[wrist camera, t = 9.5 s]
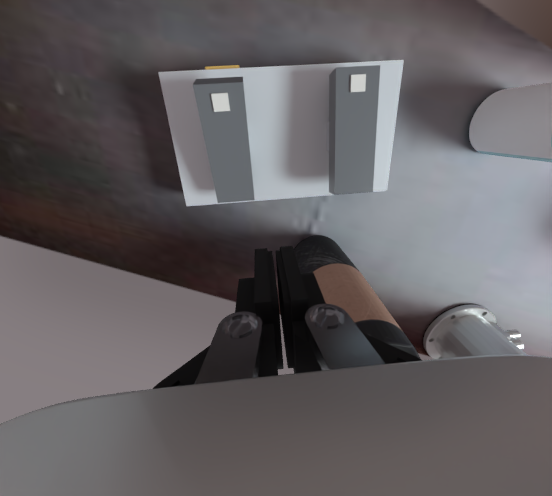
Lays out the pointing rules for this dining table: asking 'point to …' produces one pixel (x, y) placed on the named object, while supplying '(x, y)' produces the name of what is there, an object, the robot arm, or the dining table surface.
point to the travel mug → (349, 290)
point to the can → (515, 123)
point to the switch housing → (276, 128)
